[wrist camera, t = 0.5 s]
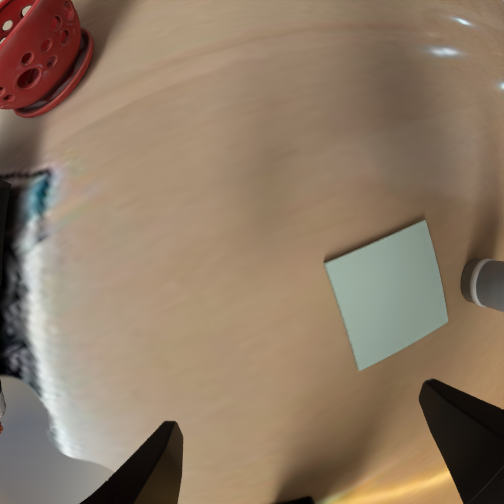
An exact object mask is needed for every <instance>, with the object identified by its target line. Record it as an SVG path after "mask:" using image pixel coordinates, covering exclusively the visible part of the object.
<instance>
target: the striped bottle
mask: <svg viewBox="0 0 504 504" xmlns="http://www.w3.org/2000/svg"><path fill="white" fill-rule="evenodd" d="M10 188H11V184H10V183H8V182H6V181H2V180H0V287H1V283H2V269H3V245H4V233H5V223H6V214H7V207H8V200H9V194H10ZM5 411H6V403H5V400H4V396H3V393H2V388H1V381H0V418H1V417H2V416H3V415H4V413H5ZM2 430H3V427H2V426H1V422H0V433H1V431H2Z"/></svg>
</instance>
